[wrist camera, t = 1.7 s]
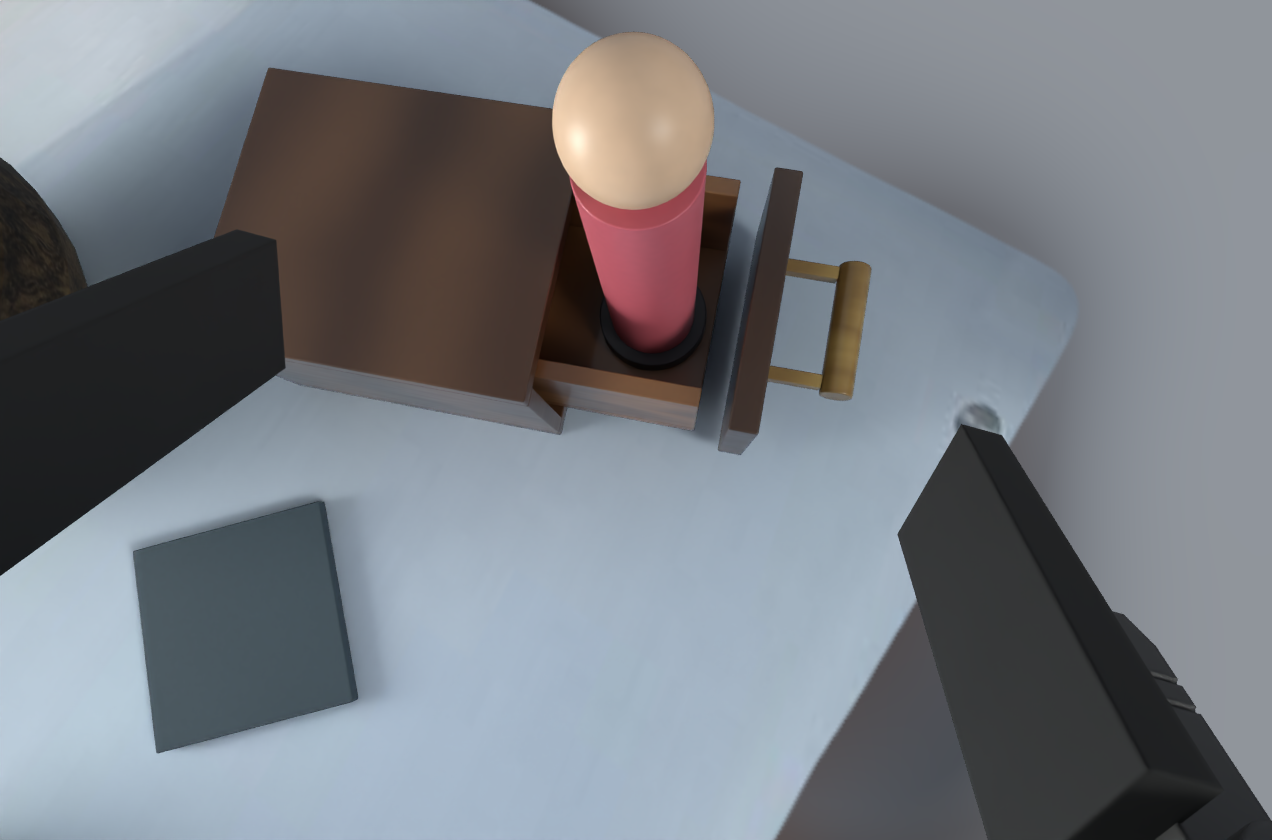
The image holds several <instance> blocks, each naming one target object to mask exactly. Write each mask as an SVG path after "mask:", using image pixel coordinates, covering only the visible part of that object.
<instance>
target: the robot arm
mask: <svg viewBox="0 0 1272 840" xmlns="http://www.w3.org/2000/svg"><path fill="white" fill-rule="evenodd" d="M285 368H286V366H285V352H284V338H283V324H282V310H281V296H280V282H279V268H278V255H277V241H276V240H275V239H272V238H268V237H264V236H261V235H257V234H253V233H249V232H246V231H242V230H238V229H236V230H233V231H231V232H228V233H226V234H223V235H221V236H218V237H215V238H213V239H210V240H208V241H205V242H202V243H200V244H197V245H195V246H192V247H190V248H187V249H184V250H182V251H179V252H177V253H174V254H172V255H169V256H166V257H164V258H161V259H159V260H156V261H153V262H151V263H148V264H146V265H143V266H141V267H138V268H135V269H133V270H130V271H128V272H125V273H122V274H120V275H117V276H115V277H112V278H110V279H107V280H104V281H102V282H99V283H97V284H94V285H92V286H89V287H86V288H84V289H81V290H79V291H76V292H73V293H71V294H68V295H66V296H63V297H61V298H58V299H55V300H53V301H50V302H48V303H45V304H43V305H40V306H37V307H35V308H32V309H30V310H27V311H24V312H22V313H19V314H17V315H14V316H12V317H9V318H6V319H4V320H1V321H0V576H1V575H2V574H3V573H5V572H6V571H8V570H9V569H10V568H12V567H13V566H14V565H16V564H17V563H19V562H20V561H21V560H23V559H24V558H25V557H27V556H28V555H30V554H31V553H32V552H34V551H35V550H36V549H38V548H39V547H41V546H42V545H43V544H45V543H46V542H47V541H49V540H50V539H52V538H53V537H54V536H56V535H57V534H58V533H60V532H61V531H62V530H64V529H65V528H67V527H68V526H69V525H71V524H72V523H73V522H75V521H76V520H78V519H79V518H80V517H82V516H83V515H84V514H86V513H87V512H89V511H90V510H91V509H93V508H94V507H95V506H97V505H98V504H100V503H101V502H102V501H104V500H105V499H106V498H108V497H109V496H111V495H112V494H113V493H115V492H116V491H117V490H119V489H120V488H122V487H123V486H124V485H126V484H127V483H128V482H130V481H131V480H133V479H134V478H135V477H137V476H138V475H139V474H141V473H142V472H144V471H145V470H146V469H148V468H149V467H150V466H152V465H153V464H154V463H156V462H157V461H159V460H160V459H161V458H163V457H164V456H165V455H167V454H168V453H170V452H171V451H172V450H174V449H175V448H176V447H178V446H179V445H181V444H182V443H183V442H185V441H186V440H187V439H189V438H190V437H192V436H193V435H194V434H196V433H197V432H198V431H200V430H201V429H203V428H204V427H205V426H207V425H208V424H209V423H211V422H212V421H214V420H215V419H216V418H218V417H219V416H220V415H222V414H223V413H225V412H226V411H227V410H229V409H230V408H231V407H233V406H234V405H236V404H237V403H238V402H240V401H241V400H242V399H244V398H245V397H247V396H248V395H249V394H251V393H252V392H253V391H255V390H256V389H257V388H259V387H260V386H262V385H263V384H264V383H266V382H267V381H268V380H270V379H271V378H273V377H274V376H275V375H277V374H278V373H279V372H281V371H282V370H284V369H285ZM898 537H899V541H900V544H901V547H902V551H903V554H904V558H905V561H906V564H907V568H908V571H909V574H910V578H911V581H912V585H913V588H914V591H915V595H916V598H917V602H918V605H919V608H920V612H921V615H922V618H923V622H924V625H925V629H926V632H927V635H928V639H929V642H930V645H931V649H932V652H933V656H934V659H935V662H936V666H937V669H938V673H939V676H940V679H941V683H942V686H943V689H944V693H945V696H946V699H947V702H948V706H949V709H950V713H951V716H952V720H953V723H954V727H955V730H956V733H957V737H958V740H959V743H960V747H961V750H962V753H963V757H964V760H965V764H966V767H967V771H968V774H969V777H970V781H971V784H972V787H973V791H974V794H975V798H976V801H977V804H978V808H979V811H980V814H981V818H982V821H983V825H984V828H985V831H986V835H987V838H988V840H1272V821H1271V820H1270V818H1269V817H1268V815H1267V813H1266V812H1265V811H1264V809H1263V808H1262V806H1261V804H1260V803H1259V801H1258V800H1257V798H1256V797H1255V795H1254V794H1253V792H1252V791H1251V789H1250V788H1249V787H1248V785H1247V783H1246V782H1245V780H1244V779H1243V777H1242V776H1241V774H1240V773H1239V772H1238V770H1237V768H1236V767H1235V765H1234V764H1233V762H1232V761H1231V759H1230V758H1229V756H1228V755H1227V753H1226V752H1225V750H1224V749H1223V747H1222V746H1221V744H1220V742H1219V741H1218V740H1217V738H1216V736H1215V735H1214V734H1213V732H1212V730H1211V729H1210V727H1209V726H1208V724H1207V723H1206V721H1205V720H1204V718H1203V717H1202V716H1201V714H1197V713H1196V712H1195V708H1196V706H1195V705H1194V703H1193V702H1192V700H1191V699H1190V697H1189V696H1188V694H1187V693H1186V691H1185V690H1184V688H1183V687H1182V686H1180V685H1177V677H1176V676H1175V674H1174V673H1173V671H1172V670H1171V668H1170V667H1169V665H1168V664H1167V662H1166V661H1165V659H1164V658H1163V657H1162V655H1161V654H1160V652H1159V650H1158V649H1157V647H1156V646H1155V645H1154V644H1153V643H1152V642H1151V641H1150V640H1149V639H1148V638H1147V637H1146V636H1145V635H1144V634H1143V633H1142V632H1141V631H1140V630H1139V629H1138V628H1137V627H1136V626H1135V625H1134V624H1133V623H1132V622H1131V621H1130V620H1129V619H1128V618H1127V617H1126V616H1125V615H1124V614H1120V613H1117V612H1113V611H1112V610H1111V609H1110V607H1109V606H1108V604H1107V602H1106V601H1105V599H1104V597H1103V596H1102V594H1101V593H1100V591H1099V590H1098V588H1097V586H1096V585H1095V583H1094V582H1093V580H1092V578H1091V577H1090V575H1089V574H1088V572H1087V570H1086V569H1085V567H1084V566H1083V564H1082V562H1081V561H1080V559H1079V558H1078V556H1077V554H1076V553H1075V551H1074V550H1073V548H1072V546H1071V545H1070V543H1069V542H1068V540H1067V538H1066V537H1065V535H1064V534H1063V532H1062V531H1061V529H1060V527H1059V526H1058V524H1057V522H1056V521H1055V519H1054V518H1053V516H1052V514H1051V513H1050V511H1049V510H1048V508H1047V507H1046V505H1045V503H1044V502H1043V500H1042V498H1041V497H1040V495H1039V494H1038V492H1037V491H1036V489H1035V487H1034V486H1033V484H1032V482H1031V481H1030V479H1029V478H1028V476H1027V475H1026V473H1025V471H1024V470H1023V468H1022V467H1021V465H1020V463H1019V462H1018V460H1017V459H1016V457H1015V455H1014V454H1013V452H1012V451H1011V449H1010V447H1009V446H1008V444H1007V443H1006V441H1005V439H1004V438H1003V436H1002V435H999V434H996V433H992V432H988V431H985V430H981V429H977V428H973V427H970V426H966V425H962V424H961V426H960V428H959V429H958V431H957V433H956V434H955V436H954V438H953V440H952V441H951V443H950V445H949V446H948V448H947V450H946V452H945V453H944V455H943V457H942V458H941V460H940V462H939V464H938V465H937V467H936V469H935V471H934V472H933V474H932V476H931V477H930V479H929V481H928V483H927V484H926V486H925V488H924V489H923V491H922V493H921V495H920V496H919V498H918V500H917V501H916V503H915V505H914V507H913V508H912V510H911V512H910V514H909V515H908V517H907V519H906V520H905V522H904V524H903V526H902V527H901V529H900V531H899V532H898Z"/></svg>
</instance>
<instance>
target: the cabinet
mask: <svg viewBox="0 0 1272 840" xmlns="http://www.w3.org/2000/svg"><path fill="white" fill-rule="evenodd" d="M552 115H553V109H551V108H544V107H537V106H530V105H523V104H516V103H509V102H502V101H496V100H489V99H482V98H475V97H468V96H461V95H454V94H447V93H441V92H434V91H427V90H420V89H413V88H406V87H399V86H392V85H385V84H379V83H372V82H365V81H358V80H351V79H344V78H337V77H330V76H324V75H317V74H310V73H303V72H296V71H289V70H282V69H275V68H268V70H267V73H266V76H265V79H264V83H263V86H262V89H261V92H260V95H259V98H258V101H257V104H256V108H255V111H254V114H253V117H252V120H251V123H250V126H249V129H248V133H247V136H246V139H245V142H244V145H243V148H242V151H241V154H240V158H239V161H238V164H237V167H236V170H235V173H234V176H233V179H232V183H231V186H230V189H229V192H228V195H227V198H226V201H225V204H224V208H223V211H222V214H221V217H220V220H219V223H218V226H217V229H216V233H215V236H214V238H215V237H218V236H221V235H223V234H226V233H228V232H231V231H233V230H236V229H238V230H242V231H246V232H249V233H253V234H257V235H261V236H264V237H268V238H272V239H275V240H276V241H277V255H278V268H279V282H280V296H281V310H282V324H283V338H284V352H285V366H286V368H285V369H284V370H282V371H281V372H279V373H278V374H277V375H275V376H278V377H280V378H283V379H285V380H288V381H290V382H293V383H296V384H298V385H302V386H307V387H313V388H318V389H323V390H328V391H333V392H339V393H344V394H349V395H354V396H359V397H365V398H370V399H375V400H380V401H386V402H391V403H396V404H401V405H406V406H412V407H417V408H422V409H427V410H433V411H438V412H443V413H448V414H453V415H459V416H464V417H469V418H474V419H480V420H485V421H490V422H495V423H500V424H506V425H511V426H516V427H521V428H527V429H532V430H537V431H542V432H547V433H553V434H558V435H561V433H562V429H563V424H564V420H565V415H566V411H567V407H563V406H558V405H552V404H547V403H546V402H545V401H544V400H543V399H542V398H541V397H540V396H539V395H538V393H537V392H536V391H535V390H534V389H533V388H532V386H533V381H534V377H535V372H536V368H537V364H538V359H539V355H540V351H541V346H542V342H543V338H544V333H545V329H546V325H547V320H548V316H549V311H550V307H551V303H552V298H553V294H554V290H555V285H556V281H557V277H558V272H559V268H560V264H561V259H562V255H563V251H564V246H565V242H566V237H567V233H568V229H569V224H570V220H571V216H572V211H573V207H574V203H575V196H574V193H573V190H572V186H571V182H570V176H569V174H568V173H567V171H566V170H565V168H564V166H563V164H562V162H561V159H560V157H559V155H558V153H557V149H556V146H555V142H554V137H553V129H552Z"/></svg>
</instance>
